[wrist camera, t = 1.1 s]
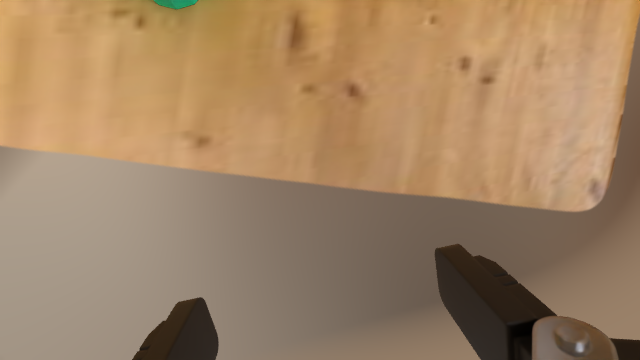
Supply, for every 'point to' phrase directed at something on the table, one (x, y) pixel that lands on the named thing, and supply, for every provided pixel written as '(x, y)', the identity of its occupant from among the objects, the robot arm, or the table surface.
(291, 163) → the table surface
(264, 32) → the table surface
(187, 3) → the candle
